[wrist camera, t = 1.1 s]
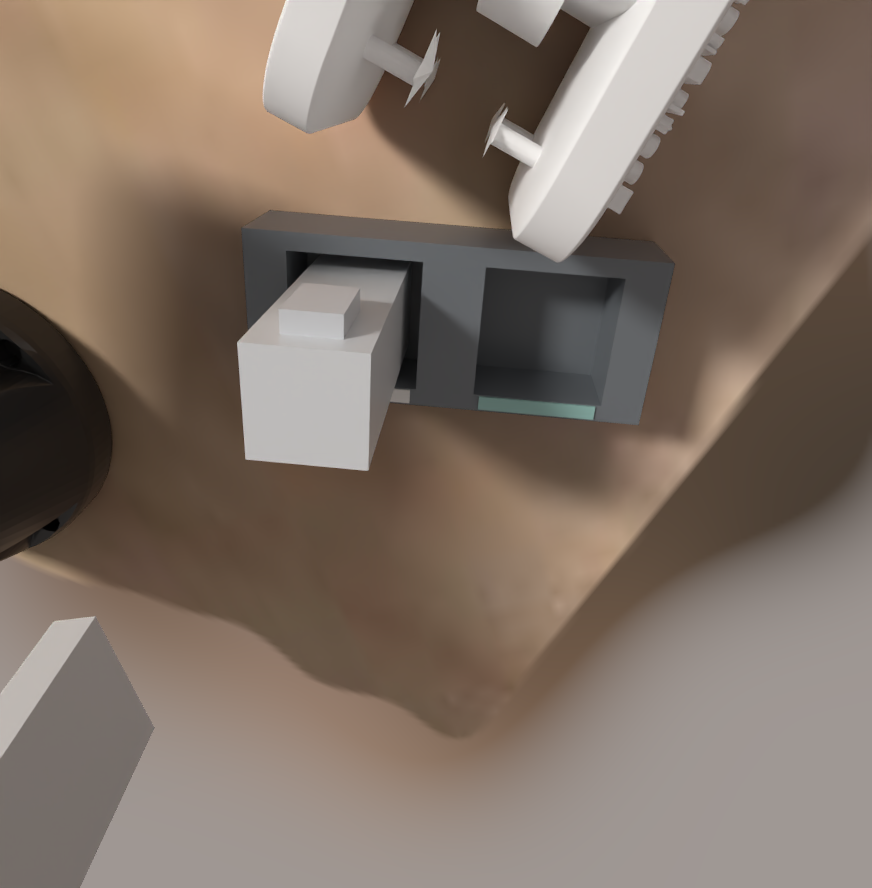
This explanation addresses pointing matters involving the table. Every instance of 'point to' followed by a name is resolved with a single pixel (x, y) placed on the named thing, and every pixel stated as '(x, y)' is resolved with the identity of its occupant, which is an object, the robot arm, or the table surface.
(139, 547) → the table surface
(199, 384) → the table surface
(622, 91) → the cable organizer
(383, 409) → the plug
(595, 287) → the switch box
